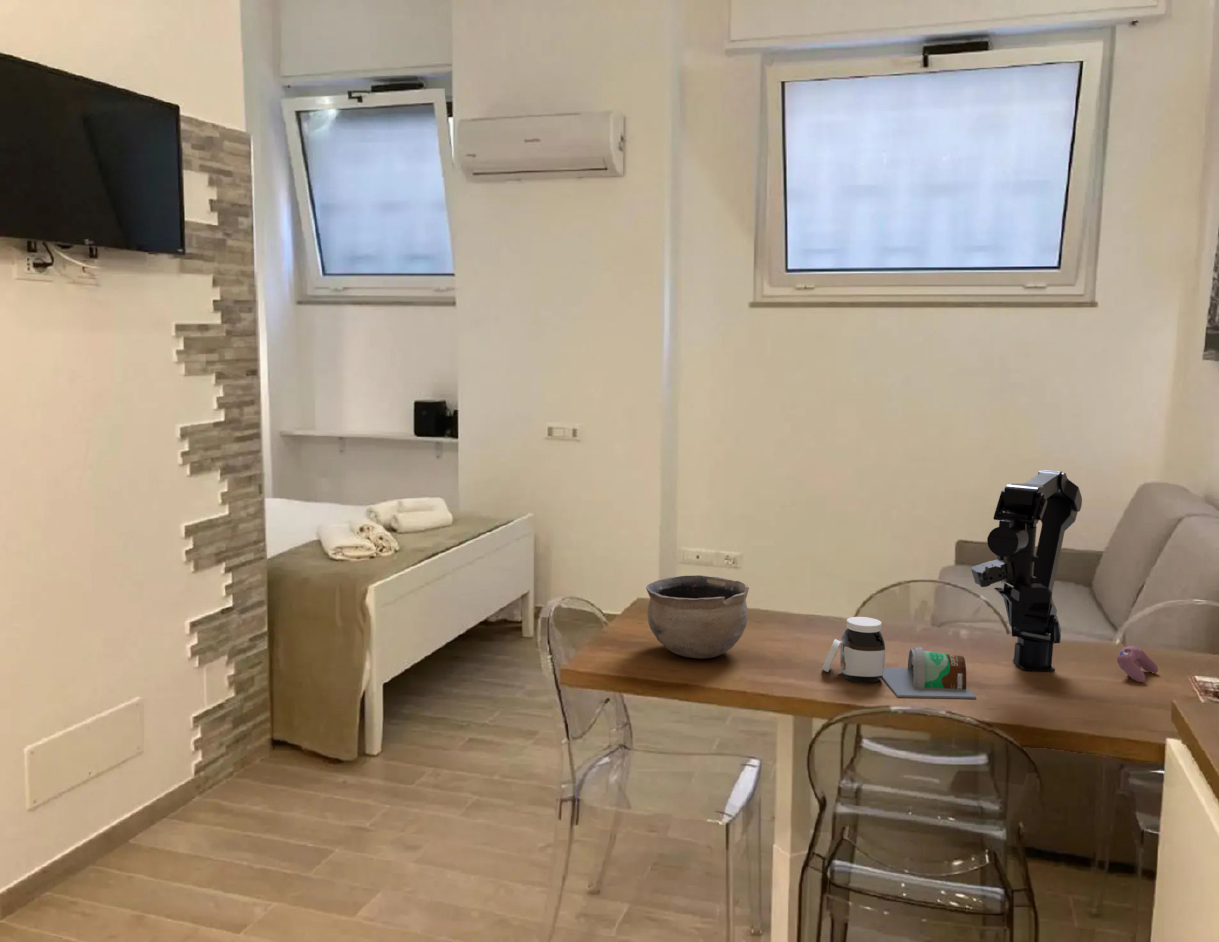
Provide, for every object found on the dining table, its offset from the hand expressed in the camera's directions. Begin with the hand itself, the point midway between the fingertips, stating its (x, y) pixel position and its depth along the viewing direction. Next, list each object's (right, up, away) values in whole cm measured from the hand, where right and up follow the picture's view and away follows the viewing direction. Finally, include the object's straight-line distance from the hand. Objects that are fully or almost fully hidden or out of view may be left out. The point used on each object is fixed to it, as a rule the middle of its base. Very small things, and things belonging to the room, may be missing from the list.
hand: (1013, 626), depth 192 cm
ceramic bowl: (-61, -9, +18) cm, 65 cm away
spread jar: (-31, -11, +6) cm, 33 cm away
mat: (-17, -12, +2) cm, 21 cm away
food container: (-9, -8, +2) cm, 12 cm away
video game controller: (+29, -12, +9) cm, 33 cm away
